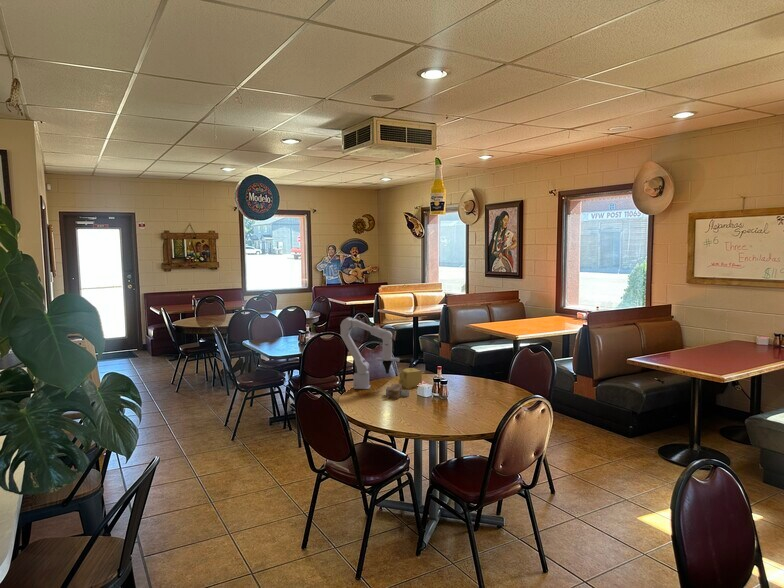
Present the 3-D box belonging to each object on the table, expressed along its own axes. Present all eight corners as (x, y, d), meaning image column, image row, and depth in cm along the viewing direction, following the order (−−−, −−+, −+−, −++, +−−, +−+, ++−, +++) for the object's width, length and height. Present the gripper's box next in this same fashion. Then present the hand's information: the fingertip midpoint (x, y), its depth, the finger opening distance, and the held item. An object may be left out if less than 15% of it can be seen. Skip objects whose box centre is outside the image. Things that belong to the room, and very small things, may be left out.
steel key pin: (386, 396, 311) (385, 389, 311) (387, 393, 317) (387, 386, 317) (408, 397, 309) (408, 390, 309) (409, 394, 315) (409, 387, 315)
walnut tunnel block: (388, 398, 307) (388, 390, 306) (392, 392, 321) (392, 384, 320) (398, 399, 306) (398, 390, 305) (402, 392, 320) (402, 384, 319)
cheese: (398, 384, 337) (398, 369, 336) (413, 382, 342) (413, 367, 341) (407, 388, 328) (407, 372, 327) (422, 386, 333) (422, 370, 332)
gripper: (374, 351, 324) (374, 374, 325) (398, 352, 322) (398, 374, 323) (376, 349, 331) (376, 371, 332) (399, 350, 329) (400, 372, 330)
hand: (387, 373), depth 328 cm, fingers closed
